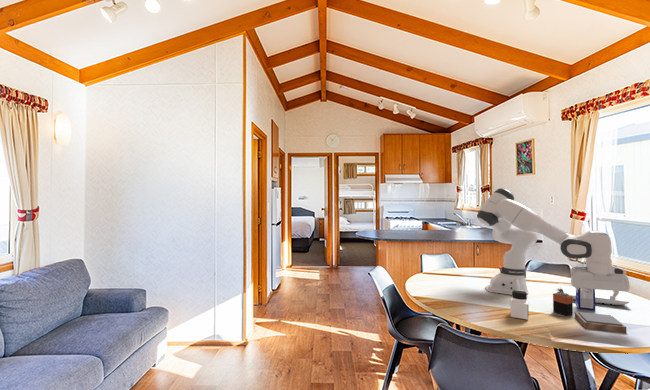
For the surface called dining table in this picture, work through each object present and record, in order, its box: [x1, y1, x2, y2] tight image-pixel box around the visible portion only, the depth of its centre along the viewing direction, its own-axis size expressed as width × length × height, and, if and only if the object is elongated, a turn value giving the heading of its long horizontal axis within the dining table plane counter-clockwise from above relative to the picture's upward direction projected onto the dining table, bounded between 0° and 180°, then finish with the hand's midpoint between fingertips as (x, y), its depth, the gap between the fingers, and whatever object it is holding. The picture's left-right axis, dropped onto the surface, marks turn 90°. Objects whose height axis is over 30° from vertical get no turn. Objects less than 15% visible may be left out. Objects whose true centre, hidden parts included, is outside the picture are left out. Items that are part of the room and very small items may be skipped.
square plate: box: [557, 283, 630, 306], centre depth 188 cm, size 27×27×4 cm
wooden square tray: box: [574, 311, 627, 334], centre depth 147 cm, size 14×14×3 cm
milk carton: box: [575, 288, 596, 312], centre depth 169 cm, size 7×7×20 cm
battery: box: [552, 291, 574, 317], centre depth 161 cm, size 4×7×10 cm, turn 21°
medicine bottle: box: [510, 290, 529, 321], centre depth 158 cm, size 7×7×12 cm
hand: (599, 299), depth 147 cm, fingers open, 8 cm apart
